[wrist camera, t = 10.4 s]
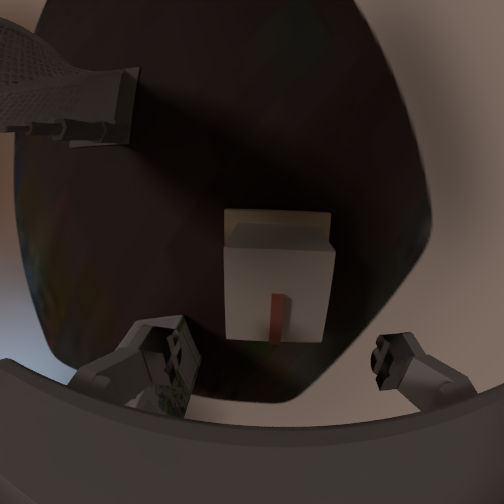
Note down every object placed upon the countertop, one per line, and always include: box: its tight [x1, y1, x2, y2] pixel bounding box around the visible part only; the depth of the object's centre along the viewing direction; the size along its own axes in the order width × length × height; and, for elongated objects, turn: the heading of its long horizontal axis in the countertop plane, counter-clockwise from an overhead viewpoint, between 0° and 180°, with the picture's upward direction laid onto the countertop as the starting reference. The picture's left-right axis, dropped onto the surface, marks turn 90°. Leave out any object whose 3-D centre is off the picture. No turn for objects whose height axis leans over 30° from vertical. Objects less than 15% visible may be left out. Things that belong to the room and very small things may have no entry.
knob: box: [224, 222, 336, 345], centre depth 18 cm, size 6×6×7 cm
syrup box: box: [115, 315, 202, 418], centre depth 18 cm, size 6×6×14 cm
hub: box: [224, 209, 331, 244], centre depth 19 cm, size 8×8×5 cm
